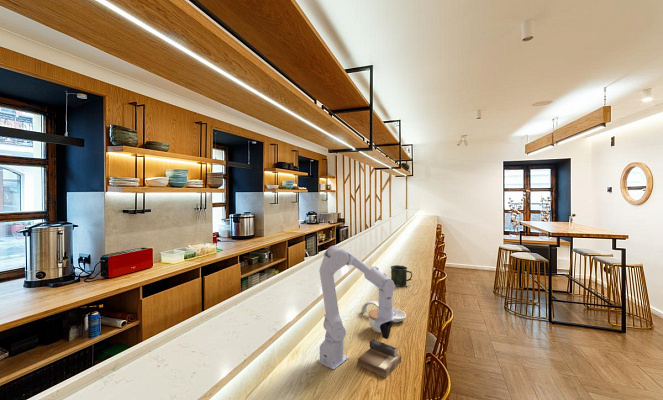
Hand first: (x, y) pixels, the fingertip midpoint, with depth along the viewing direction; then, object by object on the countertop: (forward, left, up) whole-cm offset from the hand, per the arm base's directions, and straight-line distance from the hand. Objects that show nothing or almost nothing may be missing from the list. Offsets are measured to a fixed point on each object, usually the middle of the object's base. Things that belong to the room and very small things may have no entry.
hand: (385, 337), depth 120 cm
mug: (+78, +30, -5) cm, 84 cm away
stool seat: (-10, -3, -5) cm, 12 cm away
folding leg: (-6, -2, -2) cm, 7 cm away
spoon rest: (+26, +15, -5) cm, 31 cm away
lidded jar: (+13, +10, -5) cm, 17 cm away
